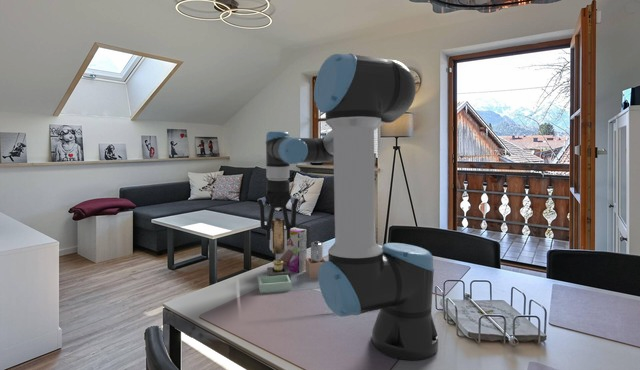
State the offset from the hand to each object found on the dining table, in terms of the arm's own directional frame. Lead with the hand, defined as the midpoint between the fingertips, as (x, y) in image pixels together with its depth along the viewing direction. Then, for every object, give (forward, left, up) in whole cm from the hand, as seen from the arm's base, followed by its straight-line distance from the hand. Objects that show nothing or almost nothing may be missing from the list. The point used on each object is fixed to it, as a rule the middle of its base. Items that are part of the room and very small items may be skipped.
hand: (278, 248), depth 125 cm
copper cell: (0, 0, -1) cm, 1 cm away
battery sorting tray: (-3, -5, -11) cm, 13 cm away
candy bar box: (+9, -6, -12) cm, 16 cm away
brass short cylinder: (0, 0, -9) cm, 9 cm away
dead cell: (+1, -14, -10) cm, 17 cm away
